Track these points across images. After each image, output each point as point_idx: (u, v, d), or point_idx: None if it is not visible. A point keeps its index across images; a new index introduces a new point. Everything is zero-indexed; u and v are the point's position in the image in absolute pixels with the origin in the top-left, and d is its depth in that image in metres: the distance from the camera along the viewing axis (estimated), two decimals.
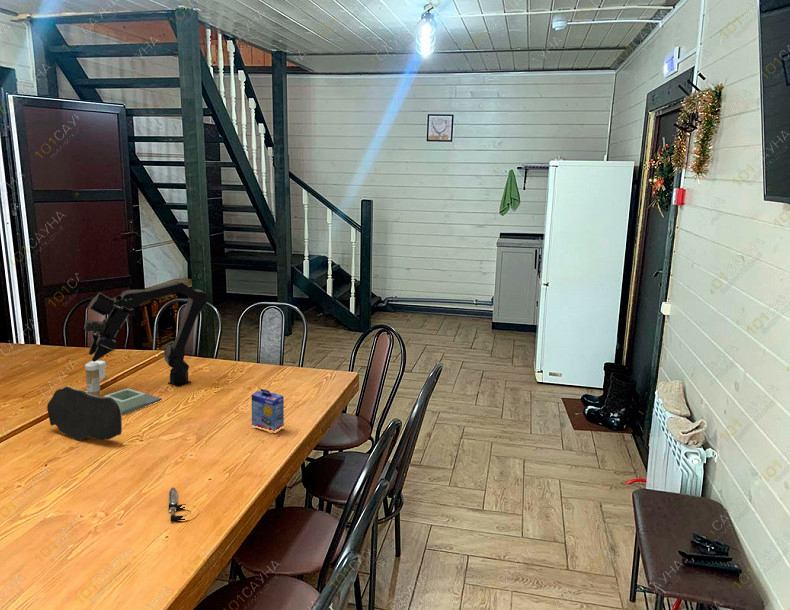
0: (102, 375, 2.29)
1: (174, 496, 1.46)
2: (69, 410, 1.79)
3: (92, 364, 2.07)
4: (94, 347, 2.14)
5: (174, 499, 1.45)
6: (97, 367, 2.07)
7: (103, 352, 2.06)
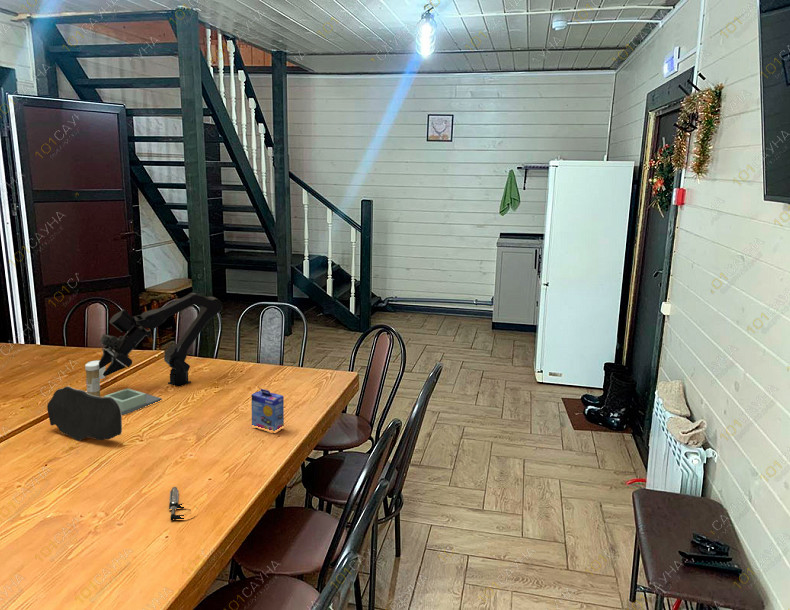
0: (102, 375, 2.29)
1: (175, 495, 1.46)
2: (69, 410, 1.79)
3: (92, 364, 2.07)
4: (103, 362, 2.14)
5: (175, 498, 1.45)
6: (97, 367, 2.07)
7: (116, 368, 2.07)
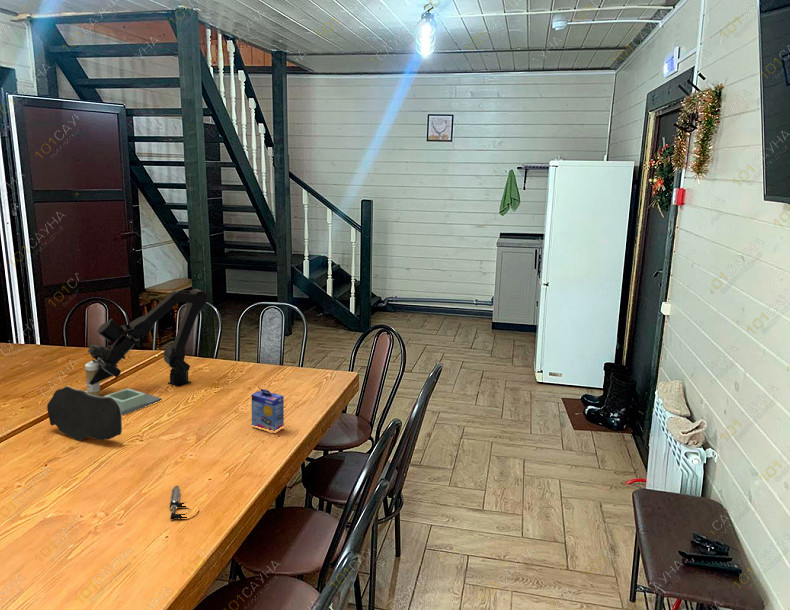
0: None
1: (176, 494, 1.47)
2: (69, 410, 1.79)
3: (92, 364, 2.07)
4: None
5: (176, 497, 1.46)
6: (97, 367, 2.07)
7: (102, 377, 2.07)
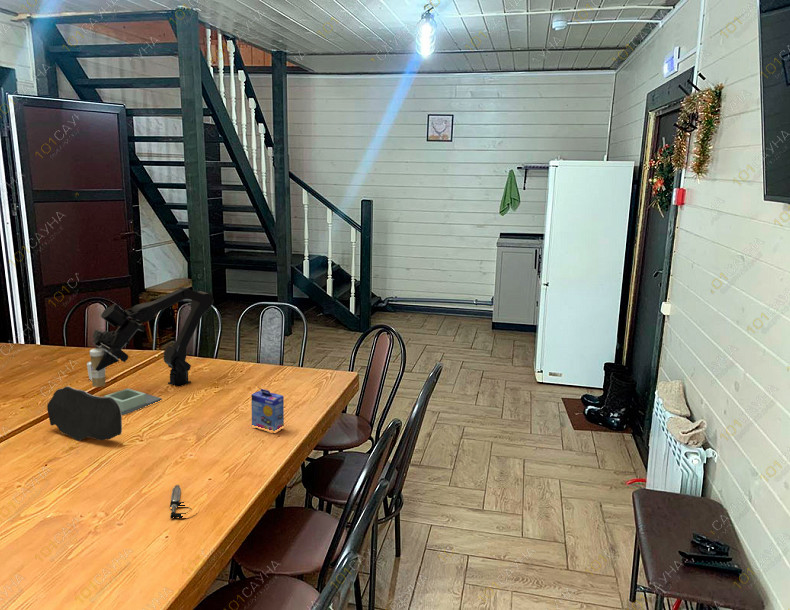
0: None
1: (177, 493, 1.47)
2: (69, 410, 1.79)
3: (97, 350, 2.04)
4: None
5: (176, 496, 1.46)
6: (102, 353, 2.04)
7: (108, 362, 2.04)
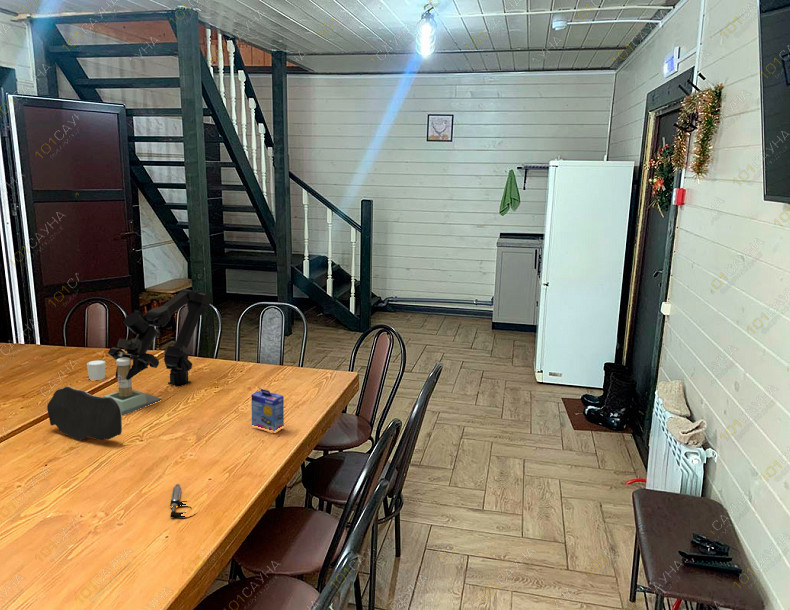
0: (102, 375, 2.29)
1: (177, 493, 1.48)
2: (69, 410, 1.79)
3: (124, 359, 2.00)
4: None
5: (176, 496, 1.46)
6: (130, 361, 2.01)
7: (137, 370, 2.02)
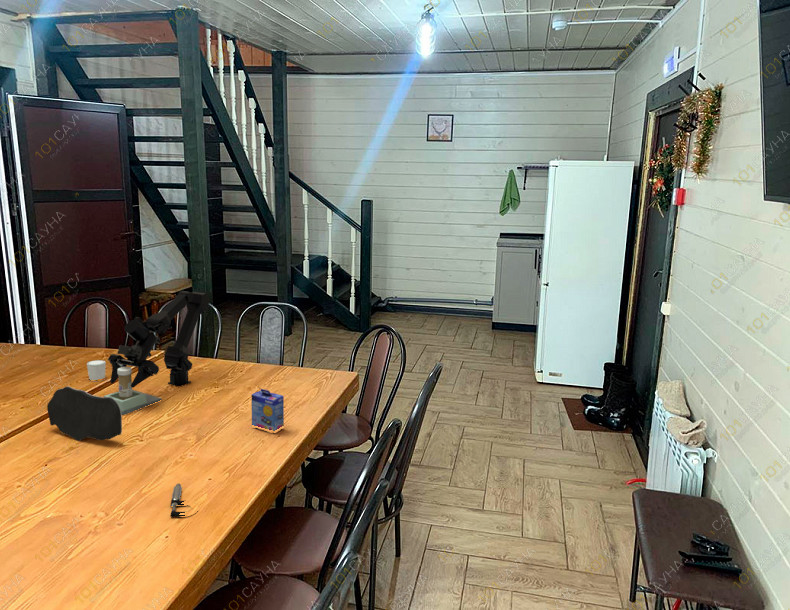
0: (102, 375, 2.29)
1: (177, 492, 1.48)
2: (69, 410, 1.79)
3: (125, 368, 2.01)
4: (115, 375, 2.04)
5: (177, 495, 1.47)
6: (131, 370, 2.02)
7: (142, 378, 2.02)
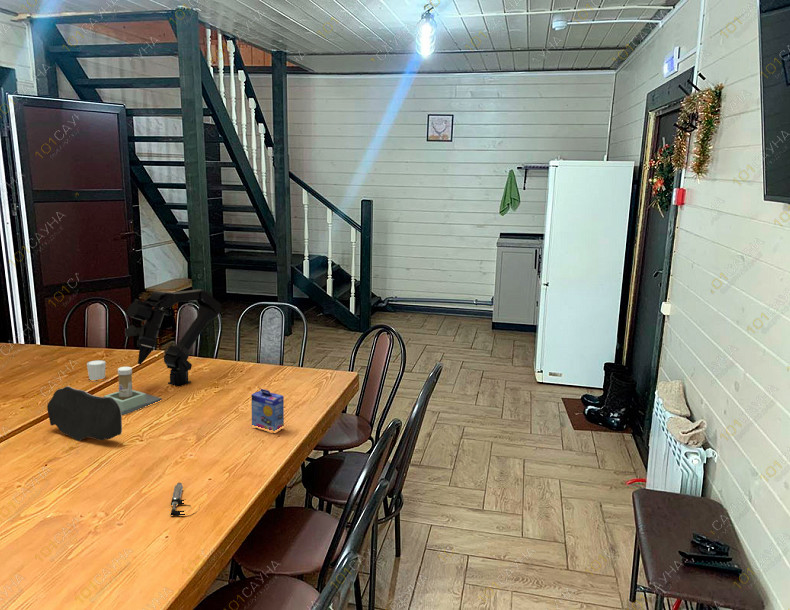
0: (102, 375, 2.29)
1: (178, 491, 1.49)
2: (69, 410, 1.79)
3: (126, 368, 2.01)
4: None
5: (177, 494, 1.47)
6: (131, 370, 2.02)
7: (146, 353, 2.08)
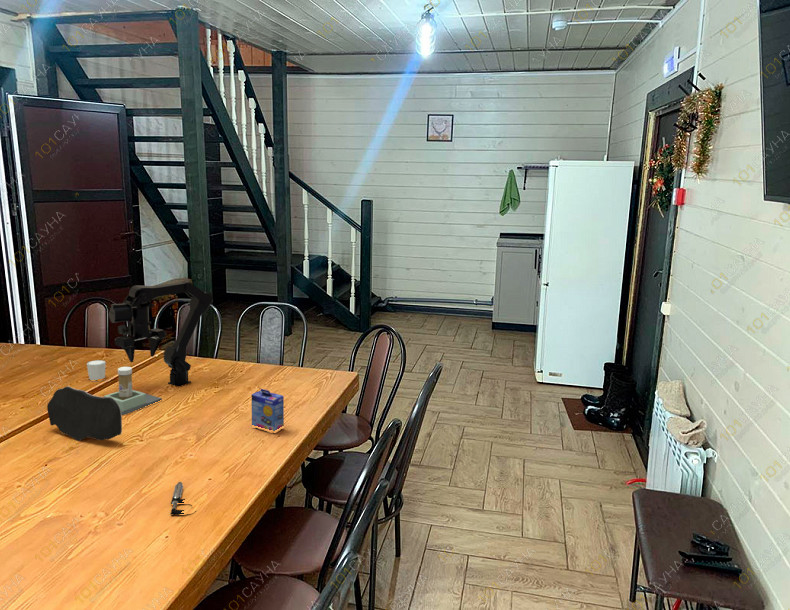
0: (102, 375, 2.29)
1: (178, 490, 1.49)
2: (69, 410, 1.79)
3: (126, 368, 2.01)
4: (152, 349, 2.20)
5: (178, 493, 1.48)
6: (131, 370, 2.02)
7: (129, 352, 2.10)
